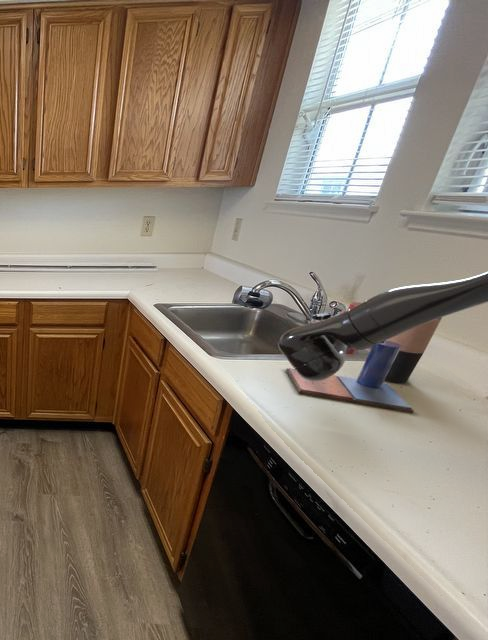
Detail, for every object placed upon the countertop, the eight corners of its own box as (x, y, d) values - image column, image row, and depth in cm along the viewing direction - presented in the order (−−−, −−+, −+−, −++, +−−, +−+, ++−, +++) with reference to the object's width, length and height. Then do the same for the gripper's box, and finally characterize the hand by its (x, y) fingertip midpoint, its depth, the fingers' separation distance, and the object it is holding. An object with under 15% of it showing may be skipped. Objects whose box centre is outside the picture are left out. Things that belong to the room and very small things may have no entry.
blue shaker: (376, 381, 105) (396, 341, 101) (384, 390, 101) (405, 348, 97) (353, 378, 107) (372, 338, 102) (360, 386, 103) (380, 345, 98)
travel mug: (378, 381, 108) (415, 307, 99) (364, 369, 115) (398, 298, 106) (414, 386, 106) (455, 311, 97) (398, 373, 113) (435, 302, 104)
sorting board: (385, 386, 106) (387, 382, 105) (412, 413, 94) (414, 409, 93) (285, 370, 113) (287, 367, 112) (298, 393, 101) (300, 389, 101)
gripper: (389, 328, 80) (407, 312, 90) (303, 309, 90) (328, 297, 100) (371, 363, 83) (391, 345, 93) (291, 341, 93) (316, 326, 103)
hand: (358, 320), depth 96 cm, fingers closed on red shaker, 4 cm apart
